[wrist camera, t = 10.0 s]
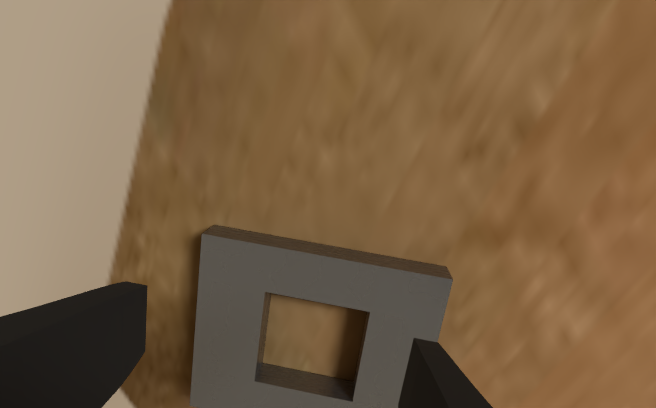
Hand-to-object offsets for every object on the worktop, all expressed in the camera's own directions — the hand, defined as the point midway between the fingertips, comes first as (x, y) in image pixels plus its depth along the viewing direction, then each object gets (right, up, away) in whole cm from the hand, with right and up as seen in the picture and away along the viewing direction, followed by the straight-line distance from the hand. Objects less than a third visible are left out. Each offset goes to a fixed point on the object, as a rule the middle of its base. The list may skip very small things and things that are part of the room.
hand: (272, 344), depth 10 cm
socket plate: (+1, -3, +10) cm, 11 cm away
